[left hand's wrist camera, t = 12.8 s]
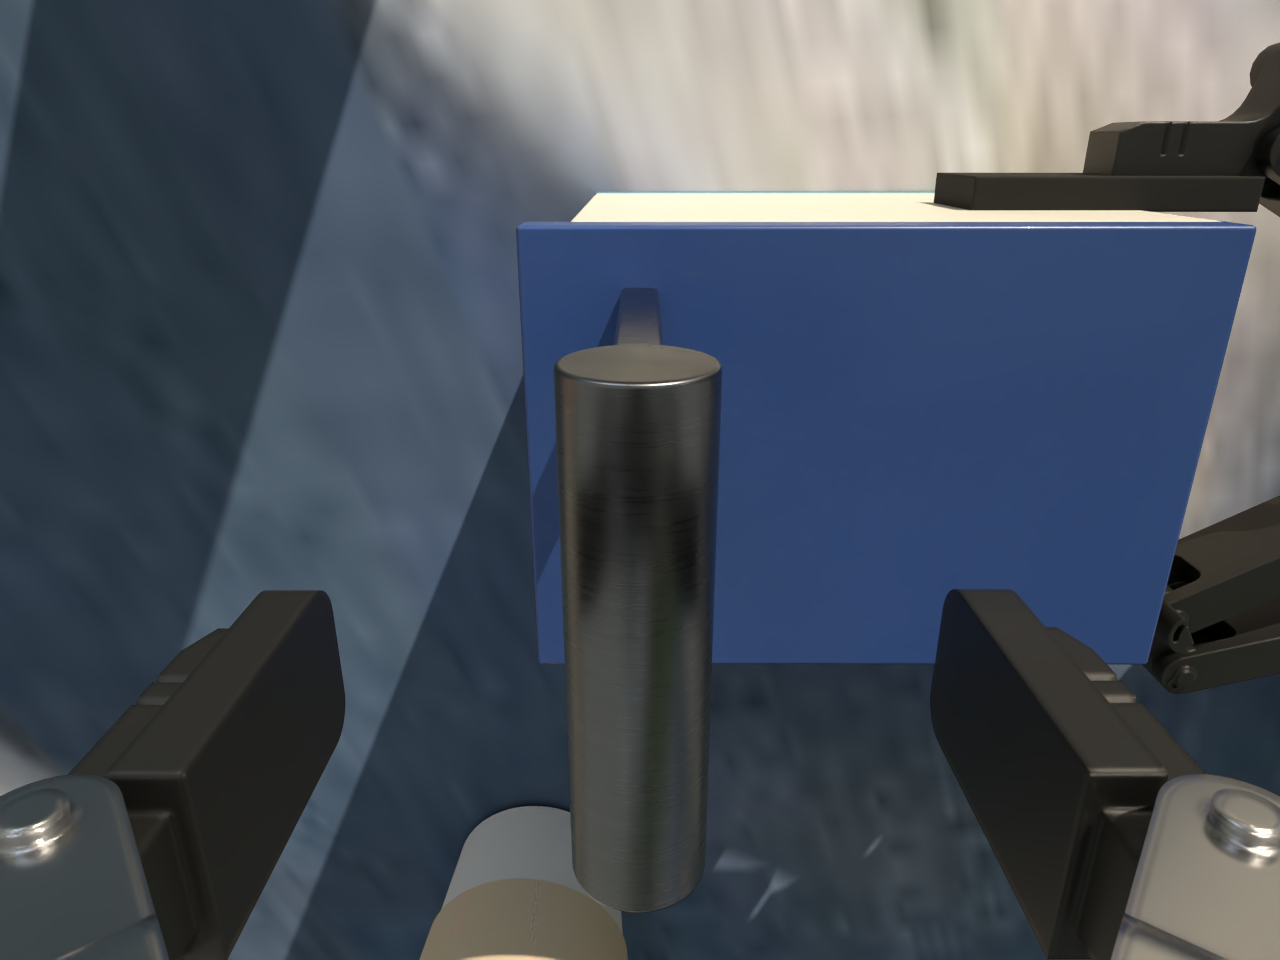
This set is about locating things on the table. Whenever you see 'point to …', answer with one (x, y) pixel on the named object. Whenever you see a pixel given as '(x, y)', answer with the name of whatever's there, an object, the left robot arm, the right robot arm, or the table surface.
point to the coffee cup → (522, 897)
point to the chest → (826, 209)
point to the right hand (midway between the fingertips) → (927, 397)
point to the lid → (838, 465)
